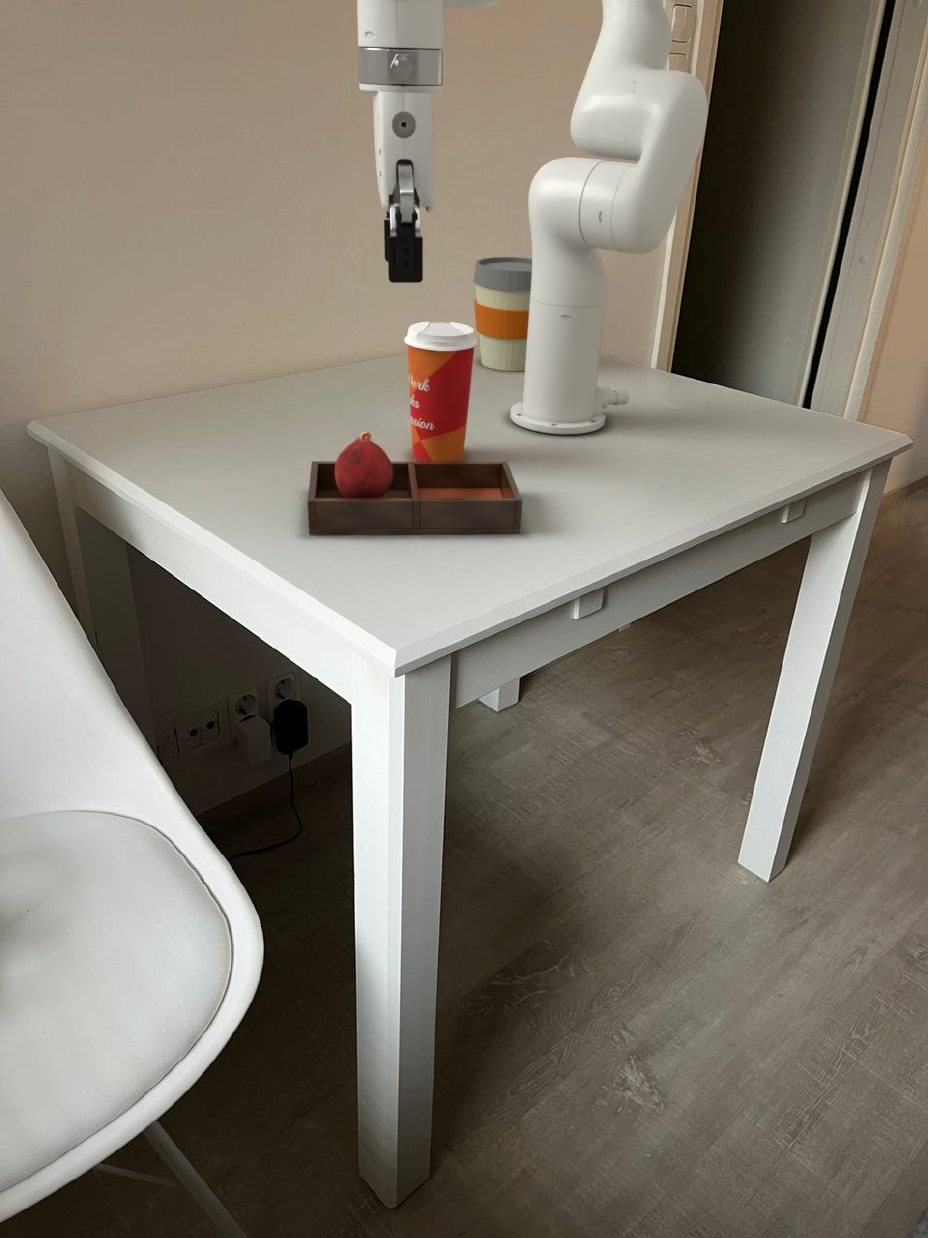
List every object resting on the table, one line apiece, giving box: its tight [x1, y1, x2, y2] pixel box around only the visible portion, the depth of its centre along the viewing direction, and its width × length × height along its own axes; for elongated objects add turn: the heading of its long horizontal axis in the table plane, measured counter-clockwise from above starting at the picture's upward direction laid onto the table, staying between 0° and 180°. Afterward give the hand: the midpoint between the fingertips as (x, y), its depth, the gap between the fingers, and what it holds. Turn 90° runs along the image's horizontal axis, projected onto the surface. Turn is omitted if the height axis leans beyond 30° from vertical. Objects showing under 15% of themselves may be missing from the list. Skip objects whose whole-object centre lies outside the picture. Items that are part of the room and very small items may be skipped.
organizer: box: [307, 460, 523, 536], centre depth 99 cm, size 21×11×4 cm, turn 96°
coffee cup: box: [404, 321, 479, 462], centre depth 111 cm, size 8×8×15 cm
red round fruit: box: [335, 430, 393, 498], centre depth 97 cm, size 6×6×8 cm
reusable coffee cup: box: [472, 256, 532, 372], centre depth 149 cm, size 13×13×15 cm
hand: (402, 271), depth 95 cm, fingers open, 9 cm apart
